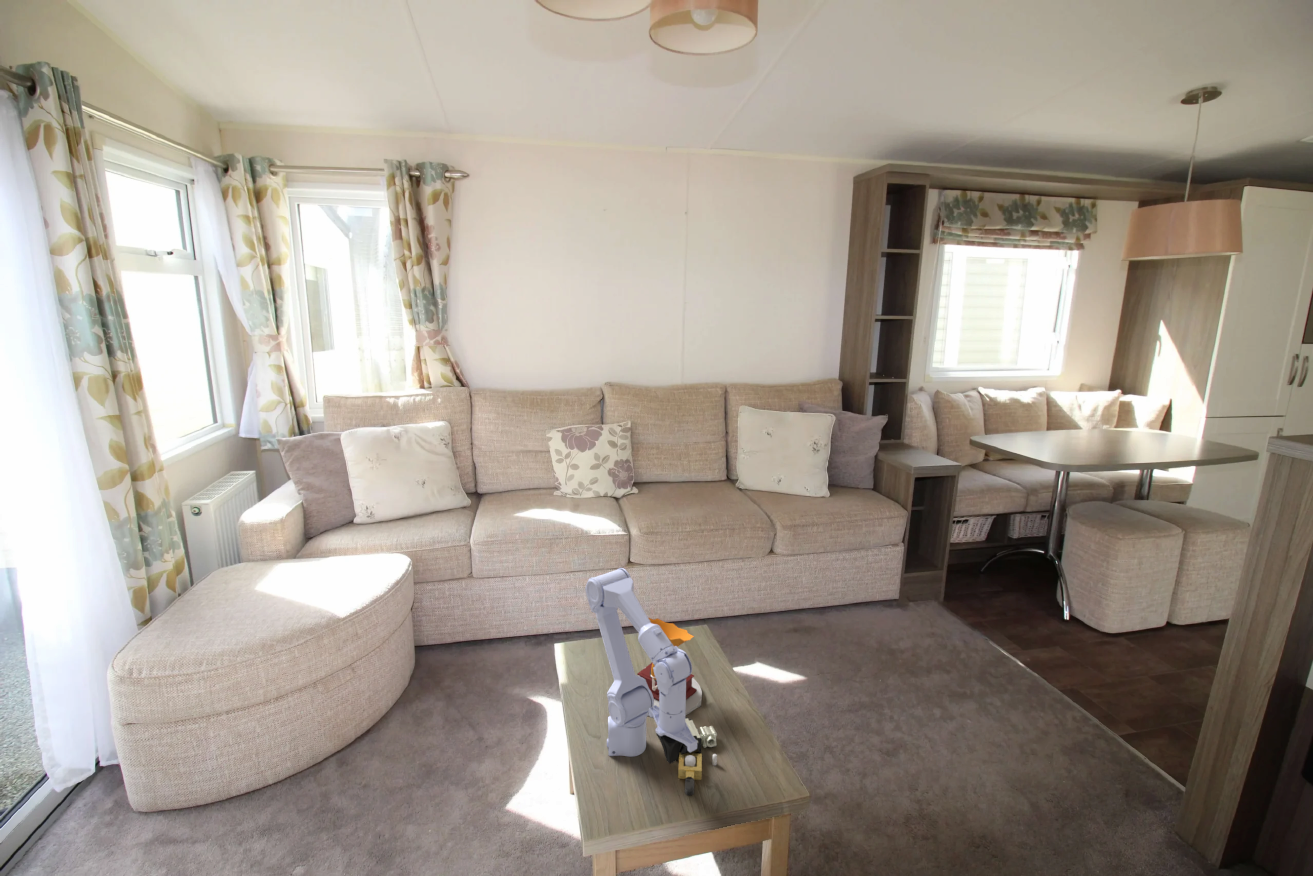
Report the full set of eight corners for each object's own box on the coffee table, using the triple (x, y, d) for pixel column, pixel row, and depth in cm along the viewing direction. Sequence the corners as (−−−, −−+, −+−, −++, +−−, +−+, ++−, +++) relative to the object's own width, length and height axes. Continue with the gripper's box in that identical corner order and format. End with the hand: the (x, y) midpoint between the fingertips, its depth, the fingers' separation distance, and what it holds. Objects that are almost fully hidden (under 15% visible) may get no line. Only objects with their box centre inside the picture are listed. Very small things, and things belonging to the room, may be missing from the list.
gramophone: (672, 734, 151) (674, 645, 145) (611, 702, 163) (610, 618, 157) (716, 693, 167) (718, 611, 161) (657, 666, 179) (657, 589, 173)
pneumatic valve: (722, 759, 141) (672, 765, 139) (707, 731, 152) (661, 736, 150) (722, 736, 141) (672, 742, 138) (708, 710, 152) (661, 715, 150)
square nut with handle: (677, 794, 131) (677, 783, 130) (679, 761, 140) (679, 750, 139) (701, 796, 130) (701, 784, 130) (701, 762, 140) (701, 751, 139)
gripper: (637, 696, 133) (637, 749, 136) (679, 732, 122) (678, 789, 125) (663, 684, 137) (662, 735, 140) (705, 718, 126) (703, 773, 129)
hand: (671, 760), depth 133 cm, fingers closed
